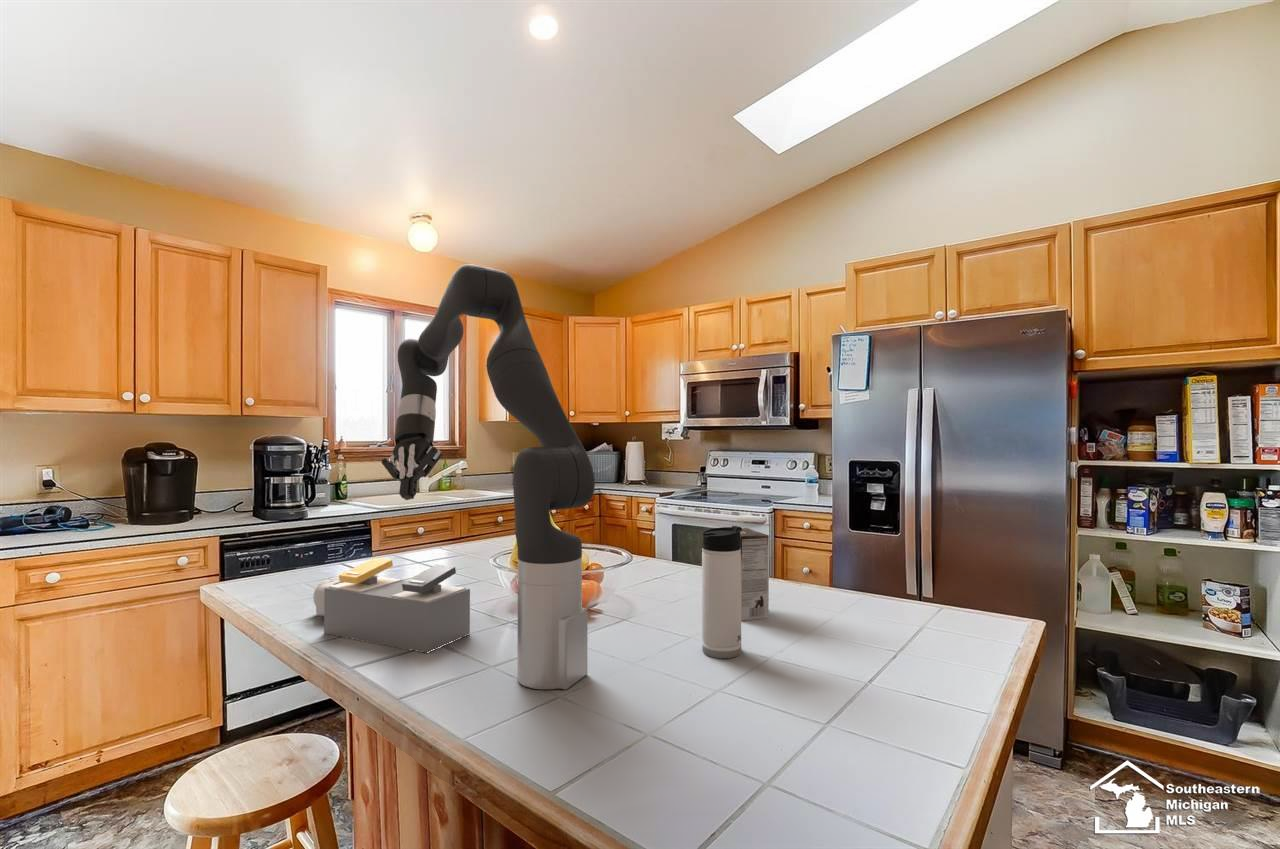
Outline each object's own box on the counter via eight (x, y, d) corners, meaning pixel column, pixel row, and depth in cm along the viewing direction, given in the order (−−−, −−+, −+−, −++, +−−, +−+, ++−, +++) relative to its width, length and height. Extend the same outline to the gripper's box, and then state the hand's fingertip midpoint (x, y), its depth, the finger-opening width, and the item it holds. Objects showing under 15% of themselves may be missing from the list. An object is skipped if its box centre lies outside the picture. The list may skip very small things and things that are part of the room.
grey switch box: (469, 634, 104) (469, 580, 104) (427, 653, 95) (428, 594, 95) (370, 617, 114) (371, 568, 114) (323, 633, 104) (324, 580, 105)
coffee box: (719, 608, 120) (718, 528, 120) (747, 605, 122) (747, 527, 122) (739, 621, 111) (739, 535, 111) (770, 618, 113) (769, 533, 113)
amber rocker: (392, 565, 110) (391, 559, 110) (357, 584, 103) (356, 576, 103) (375, 563, 112) (374, 557, 112) (339, 581, 105) (338, 574, 105)
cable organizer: (301, 585, 113) (355, 589, 110) (348, 570, 125) (397, 573, 122) (301, 620, 113) (355, 625, 110) (348, 602, 125) (397, 605, 122)
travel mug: (750, 655, 94) (750, 529, 94) (714, 661, 91) (713, 531, 92) (730, 642, 99) (730, 523, 100) (695, 647, 97) (695, 526, 97)
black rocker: (456, 573, 104) (454, 565, 104) (422, 593, 97) (421, 585, 97) (436, 570, 106) (435, 563, 106) (402, 590, 99) (401, 582, 98)
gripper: (376, 419, 121) (364, 497, 112) (433, 405, 118) (426, 484, 110) (399, 435, 127) (389, 511, 119) (454, 422, 125) (448, 498, 116)
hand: (407, 498), depth 114 cm, fingers closed
